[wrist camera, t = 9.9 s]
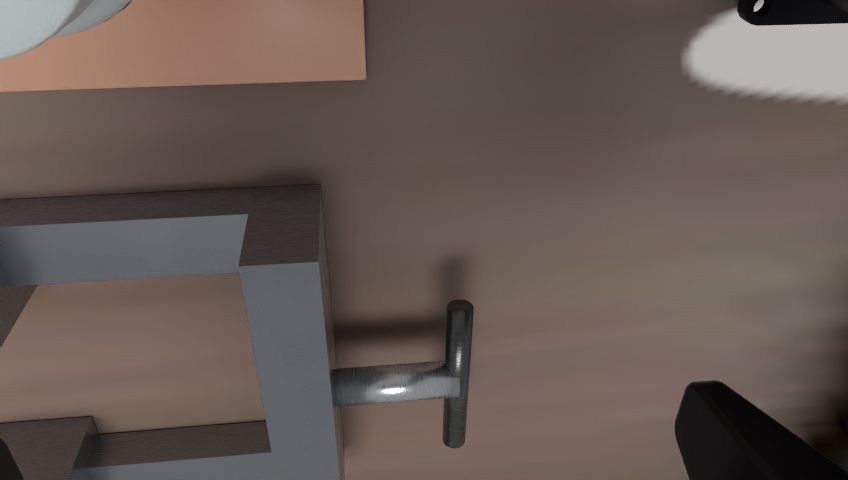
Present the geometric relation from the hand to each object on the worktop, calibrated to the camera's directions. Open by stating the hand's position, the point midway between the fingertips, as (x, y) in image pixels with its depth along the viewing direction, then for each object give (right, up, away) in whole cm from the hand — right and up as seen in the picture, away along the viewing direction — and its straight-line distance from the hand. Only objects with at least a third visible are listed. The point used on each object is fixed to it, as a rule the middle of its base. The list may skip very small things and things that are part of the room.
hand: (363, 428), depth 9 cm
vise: (-7, -1, +14) cm, 16 cm away
